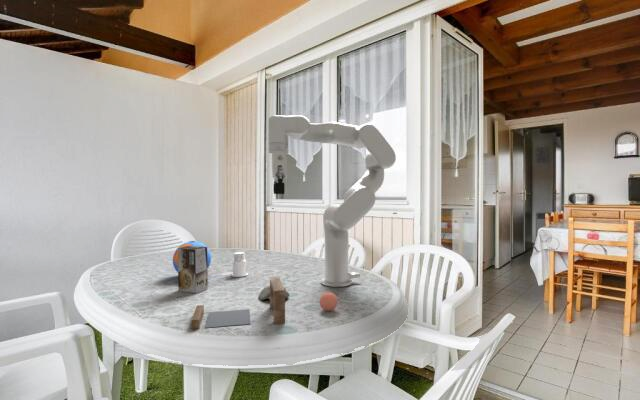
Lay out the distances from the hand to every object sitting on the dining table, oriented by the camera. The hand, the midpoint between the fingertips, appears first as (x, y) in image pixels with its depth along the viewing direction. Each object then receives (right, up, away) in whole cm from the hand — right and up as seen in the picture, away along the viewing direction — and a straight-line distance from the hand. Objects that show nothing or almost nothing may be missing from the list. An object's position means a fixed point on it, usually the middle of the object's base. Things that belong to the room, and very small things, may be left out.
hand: (278, 193), depth 132 cm
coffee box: (-32, -36, -2) cm, 48 cm away
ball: (+18, -34, -25) cm, 46 cm away
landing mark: (-11, -37, -31) cm, 49 cm away
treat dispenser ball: (-40, -36, +17) cm, 56 cm away
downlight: (-20, -36, +20) cm, 45 cm away
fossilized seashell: (0, -37, -11) cm, 39 cm away
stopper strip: (-19, -37, -33) cm, 53 cm away
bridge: (+3, -37, -28) cm, 46 cm away
